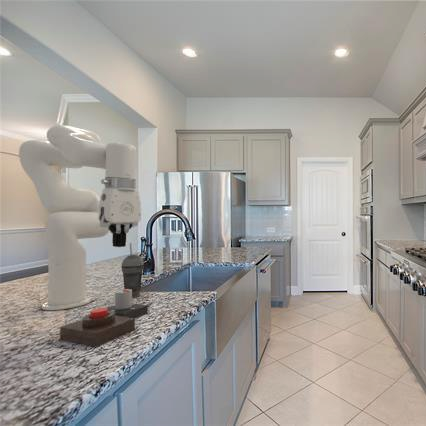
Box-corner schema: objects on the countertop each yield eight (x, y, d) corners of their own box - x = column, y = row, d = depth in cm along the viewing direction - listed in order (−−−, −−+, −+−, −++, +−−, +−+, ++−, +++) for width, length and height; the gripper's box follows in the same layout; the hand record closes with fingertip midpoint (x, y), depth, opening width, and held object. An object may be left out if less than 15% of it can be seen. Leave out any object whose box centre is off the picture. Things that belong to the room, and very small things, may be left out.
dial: (111, 308, 84) (111, 291, 84) (125, 304, 88) (125, 287, 88) (122, 310, 83) (122, 292, 83) (135, 305, 87) (135, 288, 87)
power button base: (59, 340, 69) (60, 319, 69) (102, 324, 79) (102, 306, 79) (95, 347, 66) (95, 325, 66) (134, 330, 75) (134, 311, 75)
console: (97, 318, 83) (97, 309, 83) (124, 309, 91) (124, 301, 91) (122, 322, 80) (122, 313, 80) (148, 312, 88) (148, 304, 88)
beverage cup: (132, 299, 101) (133, 244, 101) (115, 298, 103) (116, 243, 103) (148, 294, 108) (149, 242, 109) (132, 293, 110) (133, 241, 110)
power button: (86, 318, 71) (86, 311, 71) (101, 313, 74) (101, 307, 74) (96, 320, 70) (96, 313, 70) (111, 315, 73) (111, 308, 73)
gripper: (103, 182, 76) (101, 250, 76) (152, 187, 90) (150, 244, 90) (84, 182, 78) (82, 248, 78) (135, 187, 92) (133, 243, 92)
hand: (119, 246), depth 84 cm, fingers closed
